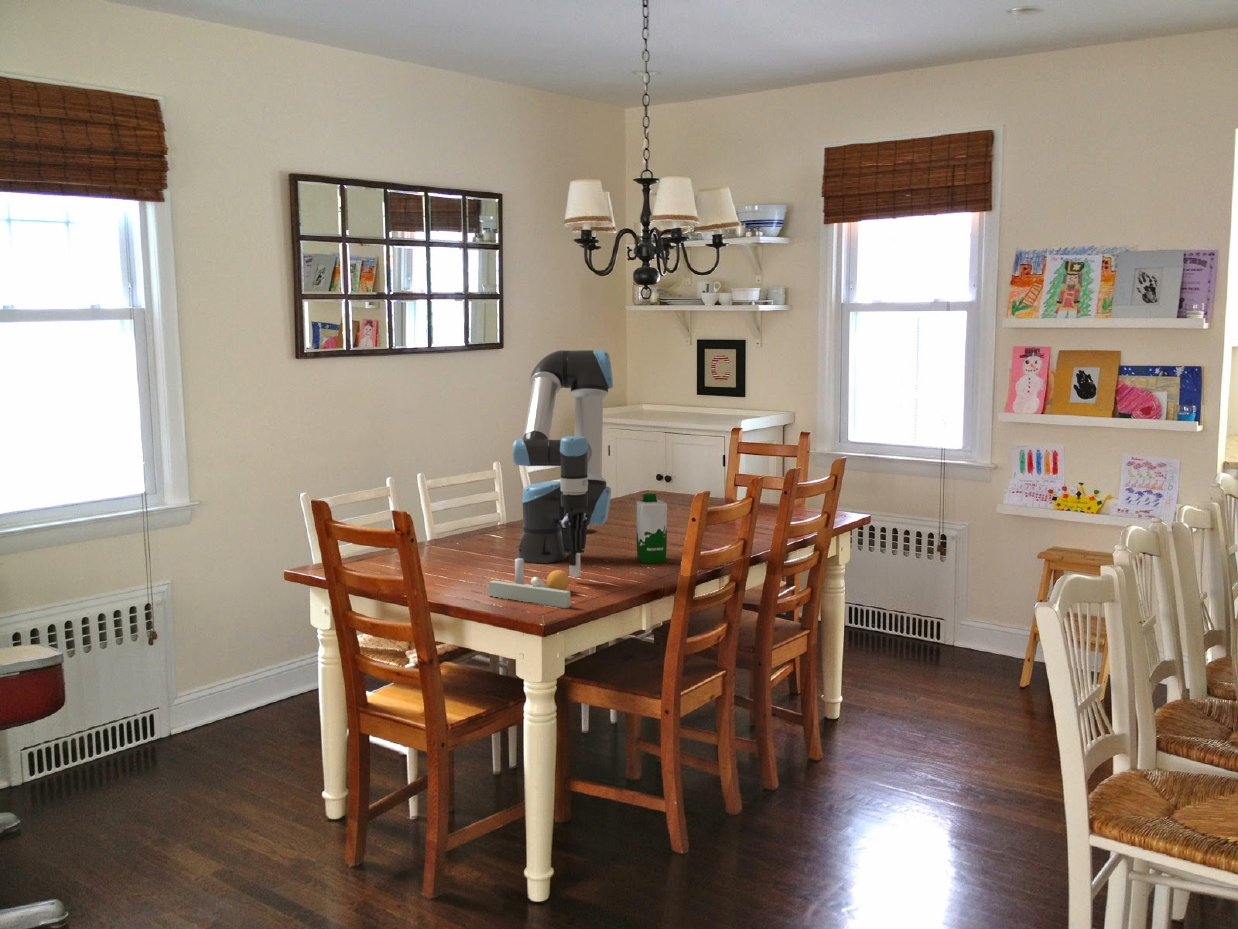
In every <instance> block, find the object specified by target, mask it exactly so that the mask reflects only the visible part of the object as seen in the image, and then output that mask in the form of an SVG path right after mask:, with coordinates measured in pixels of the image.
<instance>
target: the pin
mask: <svg viewBox="0 0 1238 929" xmlns="http://www.w3.org/2000/svg"><path fill="white" fill-rule="evenodd" d="M530 584H531V586H537V587H544V588H550V587H549V586H548V584H547V583H545V582H544V581H543V580H542V579H541V578H539V576H533V577H532V578H531V579H530Z"/></svg>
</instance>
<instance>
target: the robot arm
mask: <svg viewBox="0 0 1238 929" xmlns="http://www.w3.org/2000/svg"><path fill="white" fill-rule="evenodd" d="M611 362H612V361H611V357H610V355H609V353H608V352H607V351H605V350H595V349H592V350H589V349H588V350H587V349H586V350H562V349H561V350H556V351H553V352H551V353H549V354H548V355H546V356H545V357H543V358H542V359H541V360H540V361H539V362H538V363H537V364H536V366H535V367H534V368H533V370H532V372H531V375H530V378H529V379H530V380H529V388H530V390H531V392H530V398H529V401H528V402H529V403H528V408H527V413H526V418H525V424H524V429H523V435H522V438H519V439H515V440H514V442H513V444H512V460H513V463H514V464H515V465H517V466H522V467H560V480H559V481H558V480H557V481H556V480H555V481H553V480H549V481H542V482H537V483H533V484H528V485H527V486H525V487H524V489H523V491H522V501H521V502H522V503H521V504H522V531H523V532H522V536H521V540H520V542H519V547H518V549H517V558H523V559H524V563H525V562H526V563H534V564H550V563H557V562H563V561H565V560H567V559H568V566H569V567H568V570H569V571H568V572H569V574H568V577H571V578H572V577H573V578H580V577H581V554H584V553H585V549H586V545H587V542H586V541H587V536H588V535H587V534H588V526H590V527H591V526H601V525H604V524H605V523H606V521H607V520H608V516H609V512H610V508H611V507H610V505H611V498H612V497H611V495H612V488H611V487H609V486H607V480H606V479H605V478H604V477H603V475H602V472H603V471H602V468H603V467H602V466H603V428H604V427H603V425H604V422H603V421H604V420H603V419H604V400H605V398H607V396H608V395H609V390H610V389H613V387H614V381H613V379H614V378H613V371H612V370H613V369H612V363H611ZM561 389H570V395H571V396H572V397H573V398H574V400H575V401H574V402H575V404H574V435H567V436H566V435H565V436H562V437H561V439H550V435H551V430H552V422H553V417H554V411H555V410H554V409H555V405H556V398H557V394H558V393H560V390H561Z"/></svg>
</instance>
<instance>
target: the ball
mask: <svg viewBox="0 0 1238 929" xmlns="http://www.w3.org/2000/svg"><path fill="white" fill-rule="evenodd" d="M569 577H570V576H569V574H567V572H565V571H563V570H560V569H556V570H552V571H551V572H550V573H549V574H548V575H547V577H546V578H547V579H546V585H548V586H549V587H550V588H551V589H558V590H565V591H566V590H567V589H568V587H569V584H570V578H569Z"/></svg>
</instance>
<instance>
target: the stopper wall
mask: <svg viewBox="0 0 1238 929" xmlns="http://www.w3.org/2000/svg"><path fill="white" fill-rule="evenodd" d="M488 596H493V597H492V598H494V597H498V598H497V599H501V598H503V600H508V599H514V600H519V601H518V602H521V601H523V603H528V602H534V603H538V604H537V605H541V604H542V606H543V605H544V606H548V607H549V606H550V607H554V606H555V608H562V609H568V608H570V607H571V590H566V589H565V590H558V589H551V588H544V587H537V586H533V585H530V584H529V585H528V584H524V585H522V584H515V582H507V581H500V580H490V581H488ZM514 600H513V601H514ZM534 603H533V604H534Z"/></svg>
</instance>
